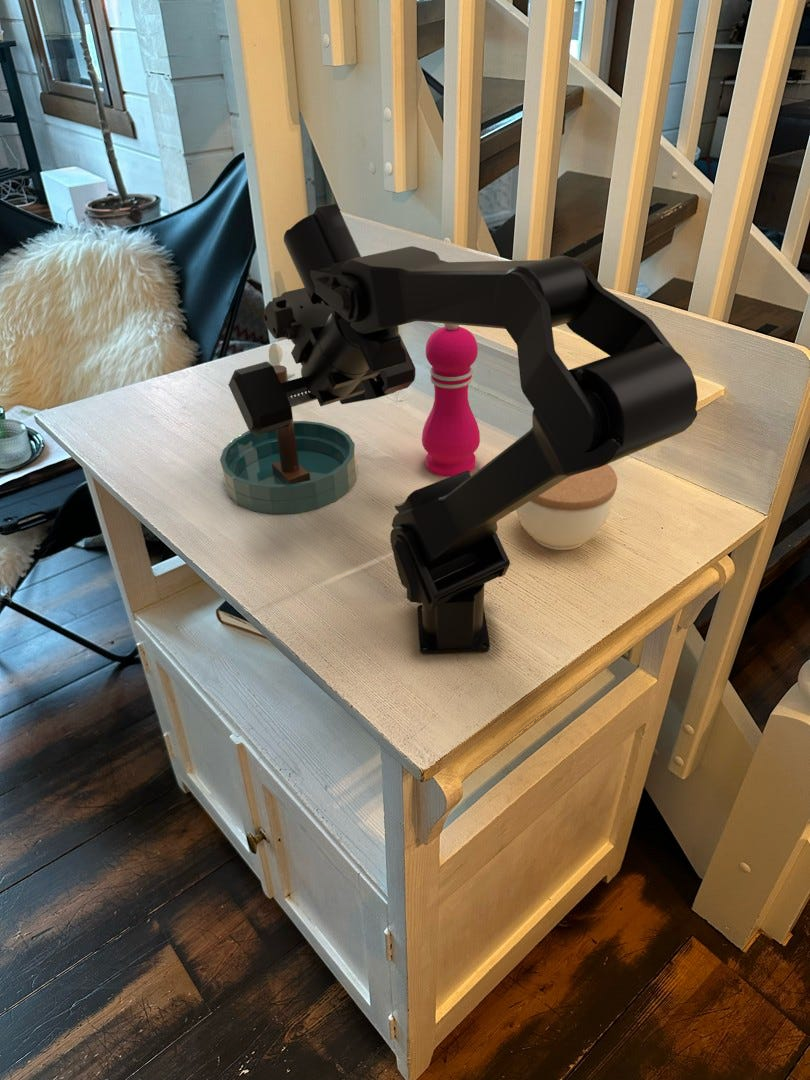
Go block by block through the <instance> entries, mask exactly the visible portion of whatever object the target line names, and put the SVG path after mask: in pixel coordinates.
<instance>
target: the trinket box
mask: <svg viewBox="0 0 810 1080" xmlns="http://www.w3.org/2000/svg"><path fill="white" fill-rule="evenodd" d="M617 488H618V477H617V473H616V471H615V470H614V469H613V468H612V466H611V465H610V464H606V465H604V466H602V467H599V468H596V469H592V470H589V471H585V472H582V473H579V474H575V475H572V476H570V477H568V478H566V479H565V480H563V481H561V482H560V483H558V484H557V485H555V486H553V487H552V488H550V489H548V490H547V491H545V492H544V493H542V494H540V495H539V496H537V497H536V498H534V499H532V500H531V501H529V502H527V503H526V504H524V505H523V506H521V507H519V508H518V509H516V510H515V511H516V515H517V518H518V521H519V523H520V524H521V526H522V528H523V529H524V531H525V532H527V534H528V535H529V536H531V537H532V539H533V540H534V541H535V543H537V544H538V545H540V546H542V547H544V548H547V549H550V550H554V551H571V550H574V549H577V548H579V547H581V546H583V545H584V544H585V543H587V542H588V541H590V540H591V539H593V538H595V536H596V535H598V534H599V532H600V531H601V530H602V529H603V527H604V526H605V524H606V523H607V521H608V519H609V516H610V514H611V510H612V508H613V504H614V499H615V494H616V491H617Z"/></svg>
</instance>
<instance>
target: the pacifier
mask: <svg viewBox="0 0 810 1080" xmlns="http://www.w3.org/2000/svg"><path fill="white" fill-rule="evenodd" d="M268 348H269V349H268V359H269V360H265V361H264V362H268V363H270V364H271V365H272V366H277V365H281V361H282V359H283V354H284V353H283V349H282V348H281V346H280V345H279V344H278V343H271V344H270V346H269V347H268ZM287 376H288V380H290V379H291V378H293V377H295V376H296V373H287Z"/></svg>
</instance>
